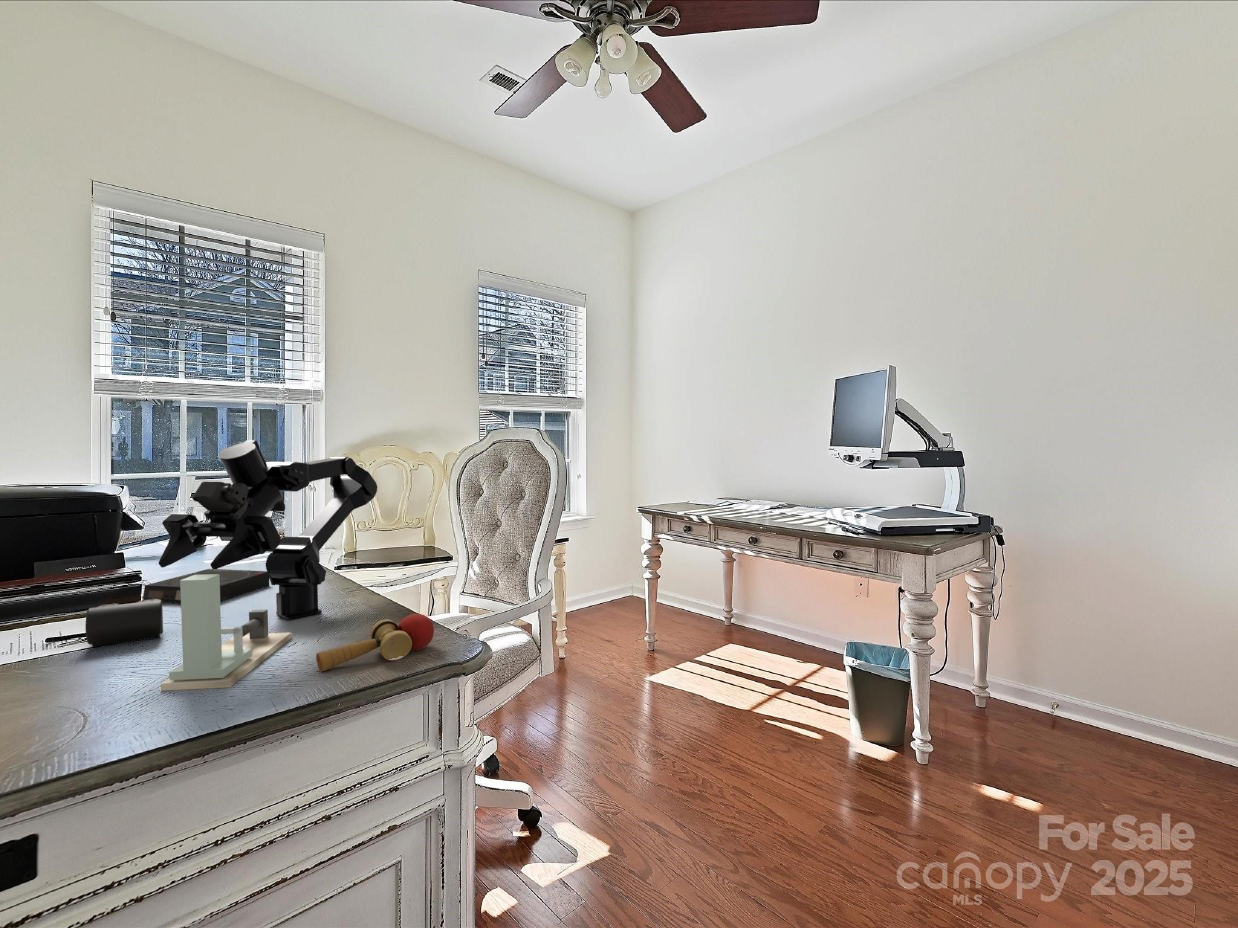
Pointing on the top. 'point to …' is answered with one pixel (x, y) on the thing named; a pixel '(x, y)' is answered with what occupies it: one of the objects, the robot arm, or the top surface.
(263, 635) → the board
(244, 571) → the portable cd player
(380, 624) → the kendama
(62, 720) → the top surface
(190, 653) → the tall sage green column
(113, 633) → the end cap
